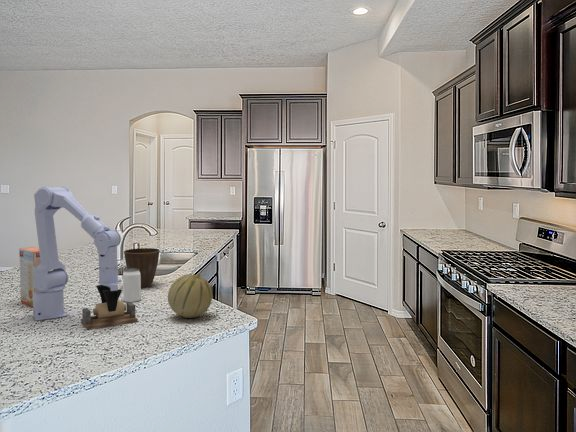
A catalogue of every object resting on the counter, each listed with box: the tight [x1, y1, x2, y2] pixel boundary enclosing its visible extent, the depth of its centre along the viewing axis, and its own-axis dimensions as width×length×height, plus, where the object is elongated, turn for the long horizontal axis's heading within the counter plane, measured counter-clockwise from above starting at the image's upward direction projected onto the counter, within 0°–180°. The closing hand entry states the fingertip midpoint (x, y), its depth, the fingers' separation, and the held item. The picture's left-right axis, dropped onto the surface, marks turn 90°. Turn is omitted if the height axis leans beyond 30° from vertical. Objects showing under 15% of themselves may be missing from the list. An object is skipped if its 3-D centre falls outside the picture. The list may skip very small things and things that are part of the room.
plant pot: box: [123, 247, 160, 289], centre depth 211 cm, size 15×15×16 cm
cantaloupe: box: [167, 273, 213, 319], centre depth 164 cm, size 15×15×15 cm
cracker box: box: [18, 246, 41, 308], centre depth 180 cm, size 14×6×21 cm, turn 47°
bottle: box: [92, 300, 127, 319], centre depth 158 cm, size 10×5×5 cm, turn 124°
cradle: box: [80, 302, 139, 330], centre depth 158 cm, size 16×10×5 cm, turn 124°
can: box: [122, 268, 142, 303], centre depth 186 cm, size 6×6×12 cm
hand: (109, 308), depth 158 cm, fingers open, 7 cm apart
